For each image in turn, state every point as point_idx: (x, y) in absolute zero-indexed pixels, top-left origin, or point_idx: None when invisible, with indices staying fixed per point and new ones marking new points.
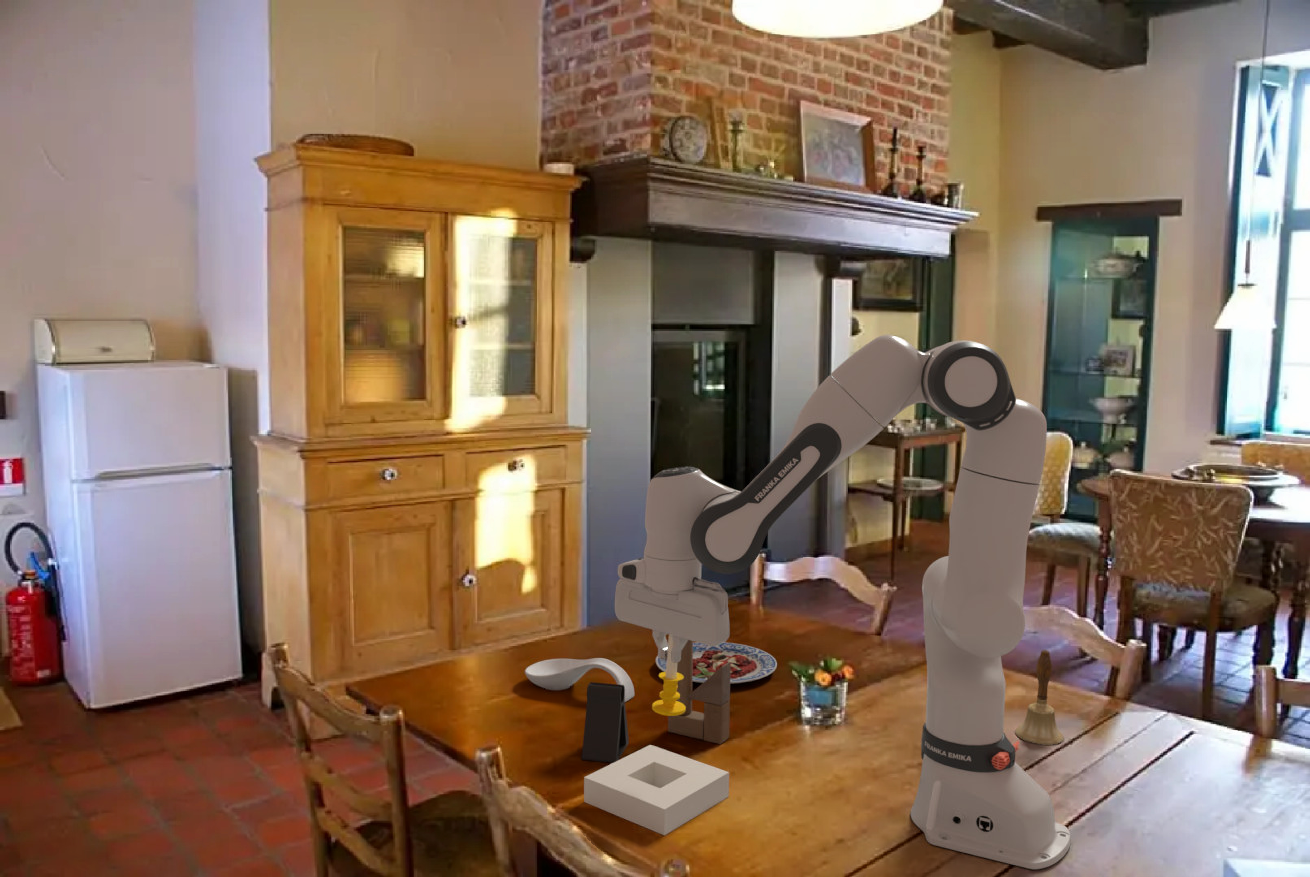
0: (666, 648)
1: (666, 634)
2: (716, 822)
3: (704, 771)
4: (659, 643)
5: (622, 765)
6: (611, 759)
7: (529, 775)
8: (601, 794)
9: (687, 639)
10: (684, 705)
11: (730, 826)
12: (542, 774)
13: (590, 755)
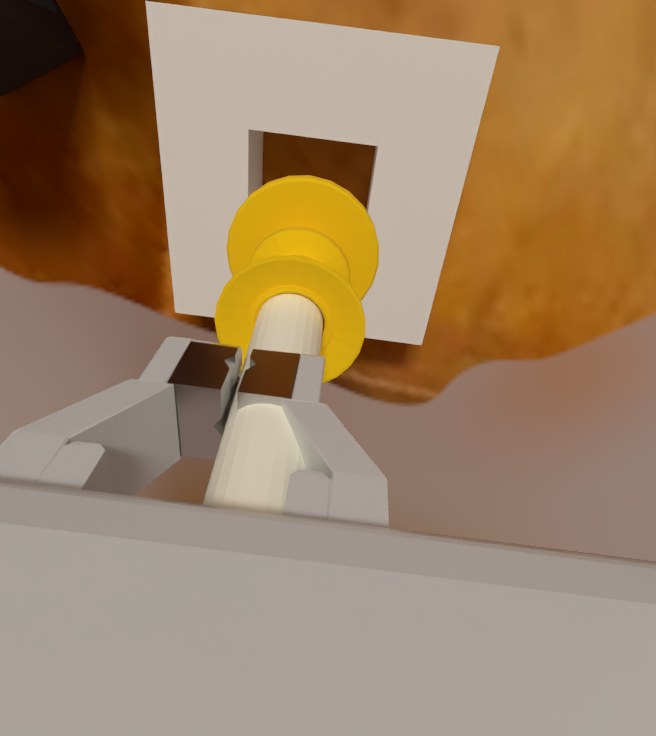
0: (200, 429)
1: (108, 467)
2: (500, 206)
3: (419, 95)
4: (146, 485)
5: (195, 206)
6: (66, 58)
7: (8, 247)
8: None
9: (386, 498)
10: (354, 204)
11: (539, 204)
12: (20, 227)
13: (10, 83)
